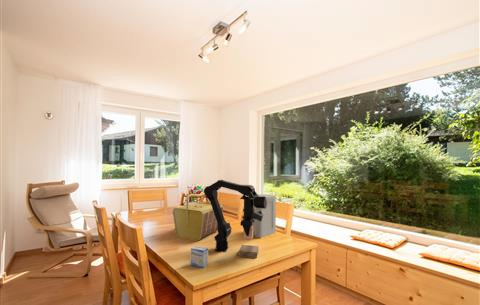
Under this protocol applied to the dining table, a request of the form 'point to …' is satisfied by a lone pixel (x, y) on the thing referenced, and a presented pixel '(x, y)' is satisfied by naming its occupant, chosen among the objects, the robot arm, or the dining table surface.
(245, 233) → the terracotta block
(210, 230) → the picnic basket
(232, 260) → the dining table surface
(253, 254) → the walnut base
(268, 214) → the grey upright carton
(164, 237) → the dining table surface
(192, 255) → the medicine box
